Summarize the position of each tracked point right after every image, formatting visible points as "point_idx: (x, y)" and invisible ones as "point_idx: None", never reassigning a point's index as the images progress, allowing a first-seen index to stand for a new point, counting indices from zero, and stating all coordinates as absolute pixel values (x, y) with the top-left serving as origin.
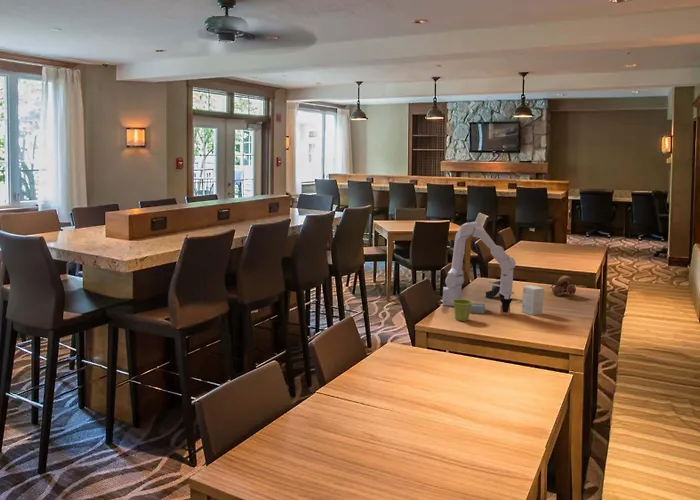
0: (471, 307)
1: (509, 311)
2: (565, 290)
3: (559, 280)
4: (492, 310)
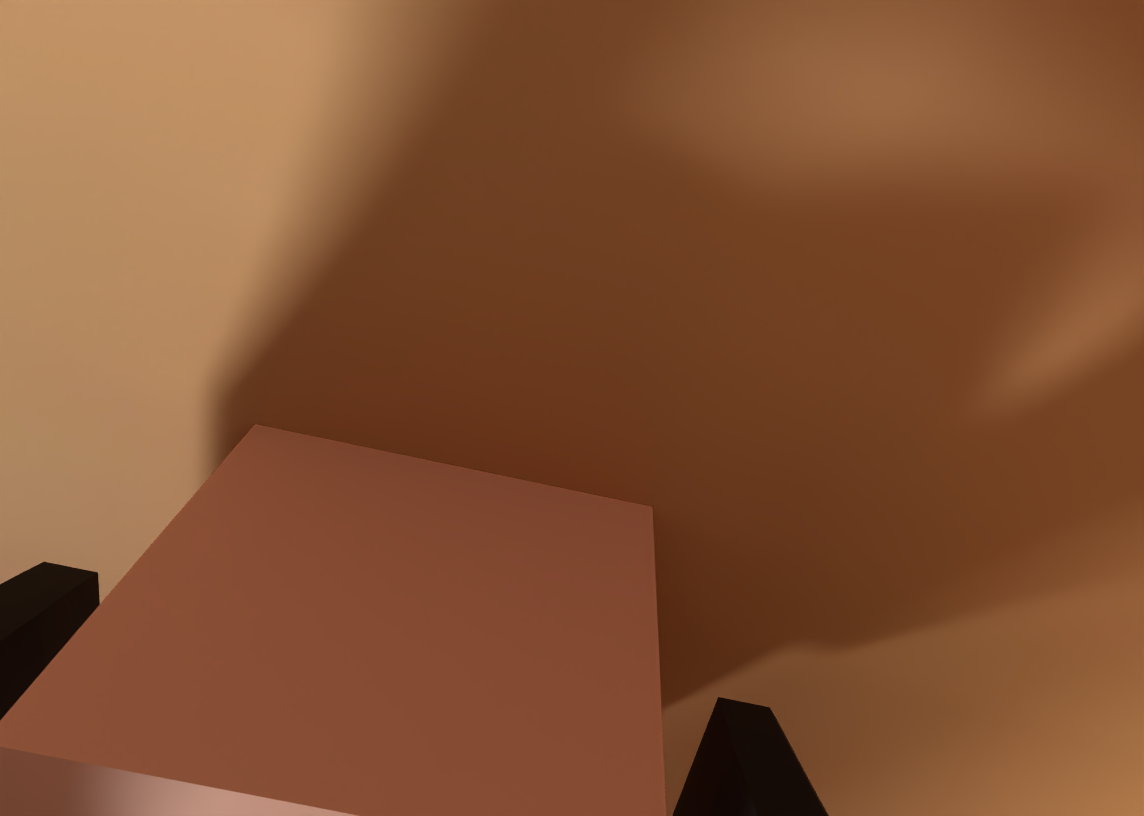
0: None
1: (650, 610)
2: None
3: None
4: None
